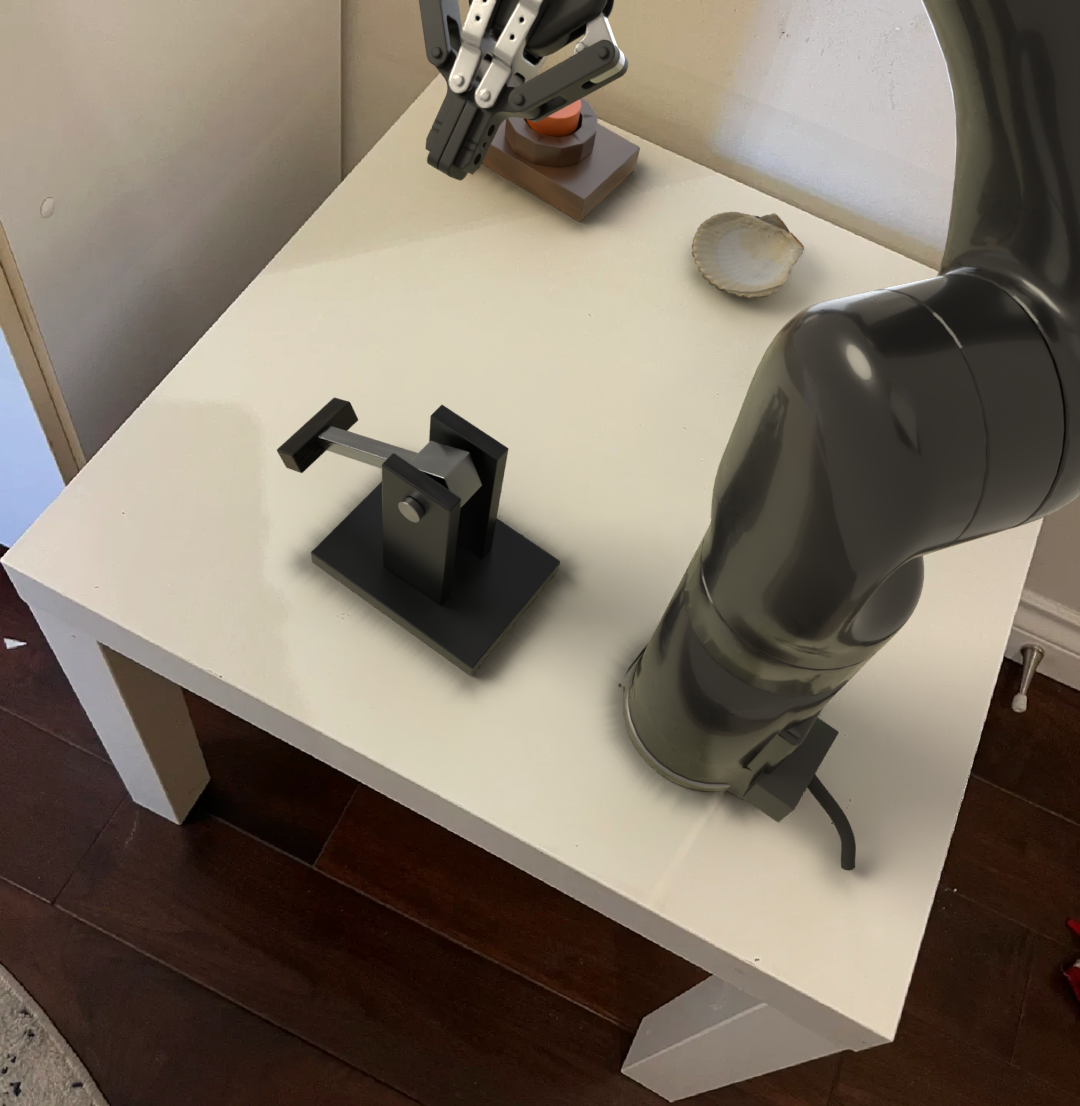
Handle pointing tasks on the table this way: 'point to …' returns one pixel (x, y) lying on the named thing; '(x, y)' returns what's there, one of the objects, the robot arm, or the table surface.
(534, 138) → the button base
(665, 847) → the table surface
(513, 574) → the switch bracket
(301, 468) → the switch lever
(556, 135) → the button
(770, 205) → the table surface
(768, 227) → the seashell
